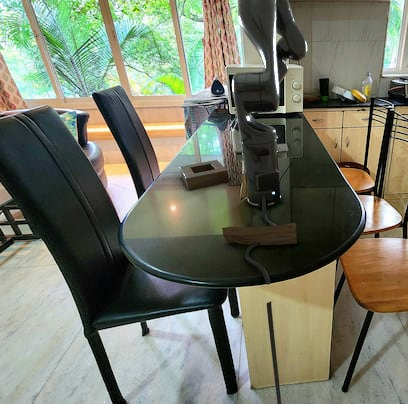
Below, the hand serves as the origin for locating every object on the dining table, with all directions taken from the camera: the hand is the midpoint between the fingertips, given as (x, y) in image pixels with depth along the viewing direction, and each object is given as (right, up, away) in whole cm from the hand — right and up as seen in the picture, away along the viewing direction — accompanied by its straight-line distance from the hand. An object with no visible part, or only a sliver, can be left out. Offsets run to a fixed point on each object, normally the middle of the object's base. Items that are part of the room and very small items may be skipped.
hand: (234, 128), depth 97 cm
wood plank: (+14, -35, -35) cm, 51 cm away
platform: (+8, -1, +31) cm, 32 cm away
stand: (-10, -17, 0) cm, 20 cm away
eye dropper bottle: (+2, -7, +5) cm, 8 cm away
